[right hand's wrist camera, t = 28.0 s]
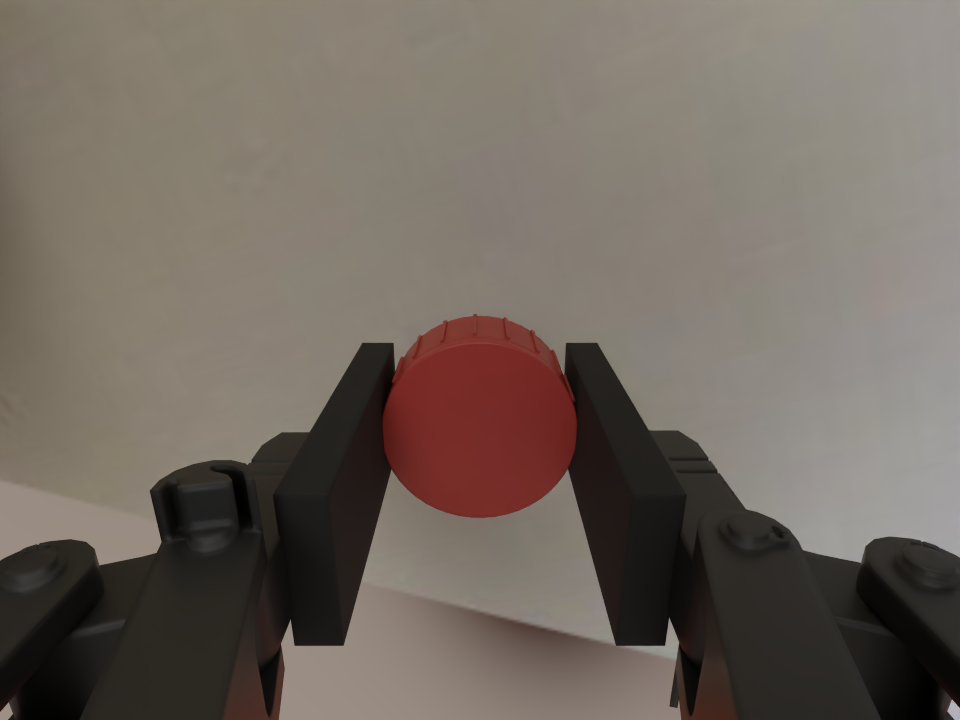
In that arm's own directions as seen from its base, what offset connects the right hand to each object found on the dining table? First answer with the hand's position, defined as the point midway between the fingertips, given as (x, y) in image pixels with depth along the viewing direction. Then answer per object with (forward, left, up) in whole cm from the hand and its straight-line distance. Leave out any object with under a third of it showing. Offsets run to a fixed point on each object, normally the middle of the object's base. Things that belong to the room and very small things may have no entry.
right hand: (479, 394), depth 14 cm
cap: (0, 0, +2) cm, 2 cm away
